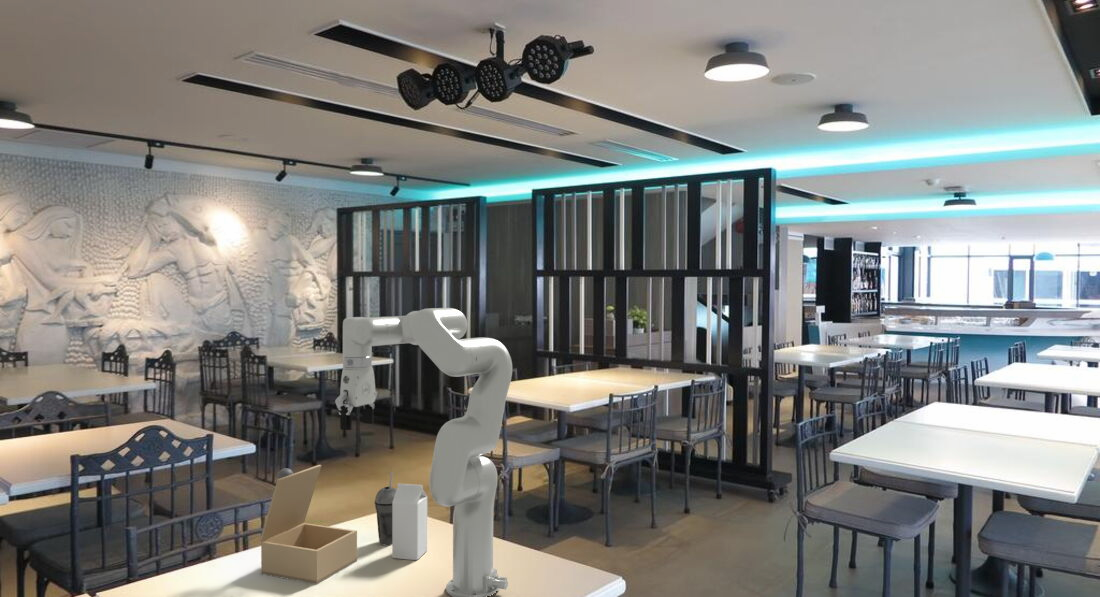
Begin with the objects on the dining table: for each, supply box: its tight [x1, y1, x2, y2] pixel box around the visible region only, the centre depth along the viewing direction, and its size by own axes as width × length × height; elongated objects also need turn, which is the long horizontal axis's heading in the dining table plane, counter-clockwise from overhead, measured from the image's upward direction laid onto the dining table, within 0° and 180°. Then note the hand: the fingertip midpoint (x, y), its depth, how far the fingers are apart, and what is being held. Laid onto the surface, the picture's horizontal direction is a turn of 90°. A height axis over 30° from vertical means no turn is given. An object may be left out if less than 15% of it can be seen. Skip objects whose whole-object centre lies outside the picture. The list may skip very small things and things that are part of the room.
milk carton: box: [391, 483, 428, 561], centre depth 197 cm, size 7×7×19 cm
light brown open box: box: [260, 522, 358, 585], centre depth 188 cm, size 17×16×8 cm
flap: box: [259, 464, 322, 542], centre depth 190 cm, size 17×16×6 cm
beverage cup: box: [374, 471, 397, 546], centre depth 206 cm, size 7×7×20 cm
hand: (357, 426), depth 197 cm, fingers open, 9 cm apart
